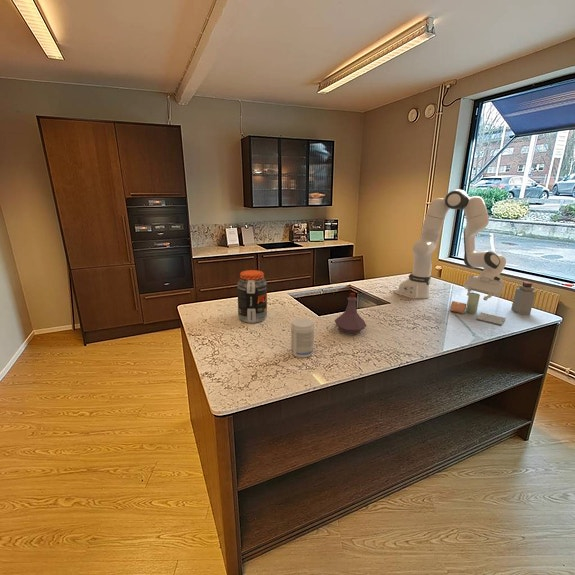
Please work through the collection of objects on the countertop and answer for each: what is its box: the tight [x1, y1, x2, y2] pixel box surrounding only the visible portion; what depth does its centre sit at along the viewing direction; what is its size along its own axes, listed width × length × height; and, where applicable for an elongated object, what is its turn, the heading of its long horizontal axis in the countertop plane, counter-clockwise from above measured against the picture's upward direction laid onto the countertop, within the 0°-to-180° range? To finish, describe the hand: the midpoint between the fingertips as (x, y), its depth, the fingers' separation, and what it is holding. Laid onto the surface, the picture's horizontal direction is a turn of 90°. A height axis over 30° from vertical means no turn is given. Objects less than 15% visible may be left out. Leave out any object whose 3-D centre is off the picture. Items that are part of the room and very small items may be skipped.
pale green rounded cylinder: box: [465, 292, 481, 315], centre depth 188 cm, size 6×6×11 cm
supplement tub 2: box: [290, 317, 315, 358], centre depth 138 cm, size 10×10×15 cm
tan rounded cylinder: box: [449, 300, 467, 315], centre depth 188 cm, size 7×6×6 cm
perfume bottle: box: [510, 281, 537, 315], centre depth 188 cm, size 7×7×18 cm
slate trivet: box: [475, 312, 506, 327], centre depth 179 cm, size 12×12×1 cm
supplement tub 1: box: [236, 269, 268, 324], centre depth 173 cm, size 16×16×26 cm
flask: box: [334, 292, 368, 335], centre depth 160 cm, size 16×16×20 cm
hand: (476, 297), depth 188 cm, fingers open, 8 cm apart
